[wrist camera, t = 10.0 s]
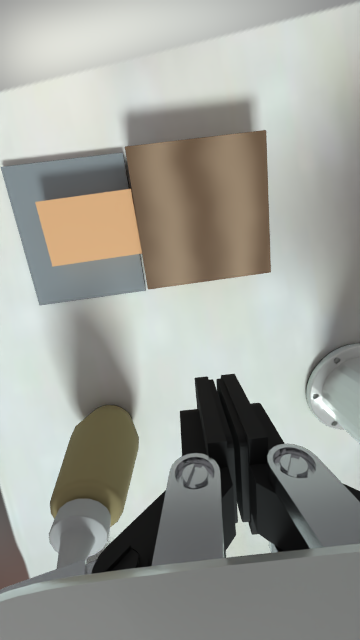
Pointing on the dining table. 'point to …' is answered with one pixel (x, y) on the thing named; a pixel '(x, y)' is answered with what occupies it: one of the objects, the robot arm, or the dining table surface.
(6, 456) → the dining table surface
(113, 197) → the tile
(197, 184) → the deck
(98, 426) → the squeeze bottle
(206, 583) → the robot arm
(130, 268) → the mat
